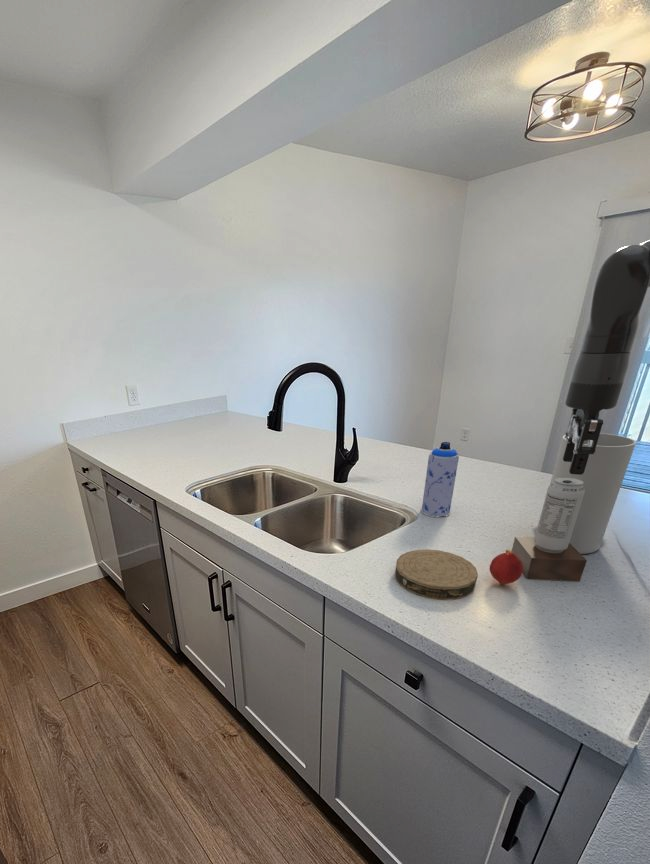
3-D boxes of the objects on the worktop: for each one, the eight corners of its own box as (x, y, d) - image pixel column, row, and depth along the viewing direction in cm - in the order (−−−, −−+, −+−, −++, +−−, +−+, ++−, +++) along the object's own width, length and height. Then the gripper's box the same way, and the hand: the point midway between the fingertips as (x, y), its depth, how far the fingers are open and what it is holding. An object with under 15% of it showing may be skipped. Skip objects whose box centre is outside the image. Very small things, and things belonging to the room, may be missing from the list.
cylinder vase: (583, 560, 96) (619, 450, 85) (525, 541, 106) (551, 439, 95) (608, 544, 102) (646, 439, 91) (551, 527, 112) (579, 429, 100)
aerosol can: (432, 504, 129) (441, 437, 120) (456, 512, 123) (468, 442, 114) (414, 511, 126) (423, 442, 117) (439, 519, 120) (450, 448, 111)
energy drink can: (572, 549, 91) (593, 481, 85) (557, 557, 89) (578, 488, 82) (542, 539, 96) (559, 474, 89) (526, 546, 93) (544, 480, 87)
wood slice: (430, 554, 103) (432, 543, 101) (492, 585, 90) (495, 572, 88) (379, 573, 96) (380, 561, 95) (437, 608, 84) (439, 596, 82)
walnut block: (558, 558, 98) (564, 538, 96) (580, 581, 89) (587, 560, 87) (510, 556, 100) (514, 536, 98) (526, 578, 91) (531, 558, 89)
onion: (505, 574, 93) (513, 541, 89) (525, 589, 88) (535, 554, 84) (480, 578, 92) (487, 545, 89) (499, 593, 87) (508, 558, 84)
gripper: (634, 384, 70) (603, 480, 77) (614, 374, 81) (588, 458, 89) (578, 385, 73) (553, 476, 80) (566, 375, 85) (545, 456, 92)
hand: (572, 467), depth 85 cm, fingers open, 8 cm apart
